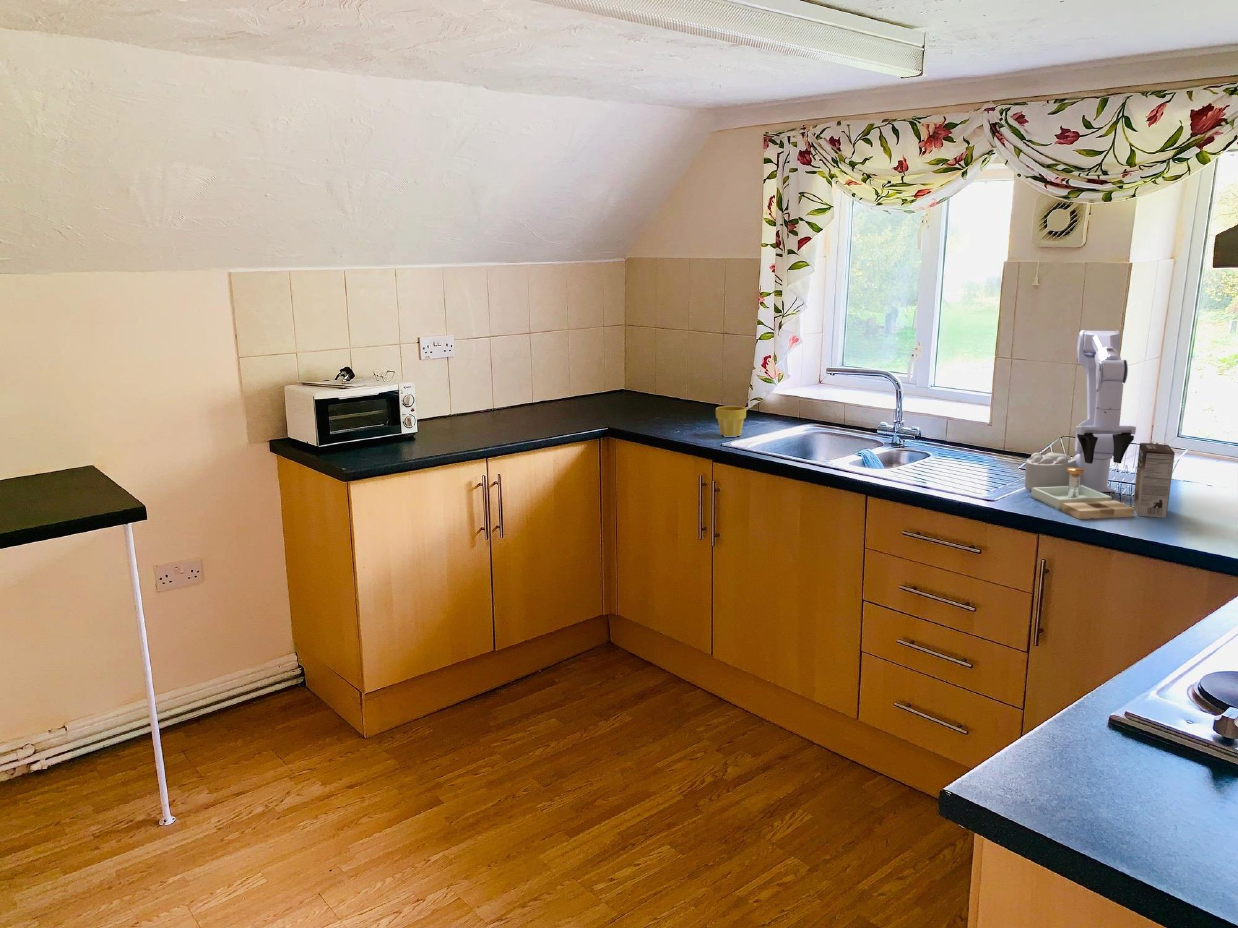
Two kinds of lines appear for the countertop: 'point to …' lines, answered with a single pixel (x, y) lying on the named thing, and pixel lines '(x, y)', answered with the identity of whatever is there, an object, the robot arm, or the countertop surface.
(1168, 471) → the coffee box
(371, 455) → the countertop surface
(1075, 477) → the pin
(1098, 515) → the tan flat rectangular block
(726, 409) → the plant pot
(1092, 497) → the tray
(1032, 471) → the lumpy-topped squat cylinder
